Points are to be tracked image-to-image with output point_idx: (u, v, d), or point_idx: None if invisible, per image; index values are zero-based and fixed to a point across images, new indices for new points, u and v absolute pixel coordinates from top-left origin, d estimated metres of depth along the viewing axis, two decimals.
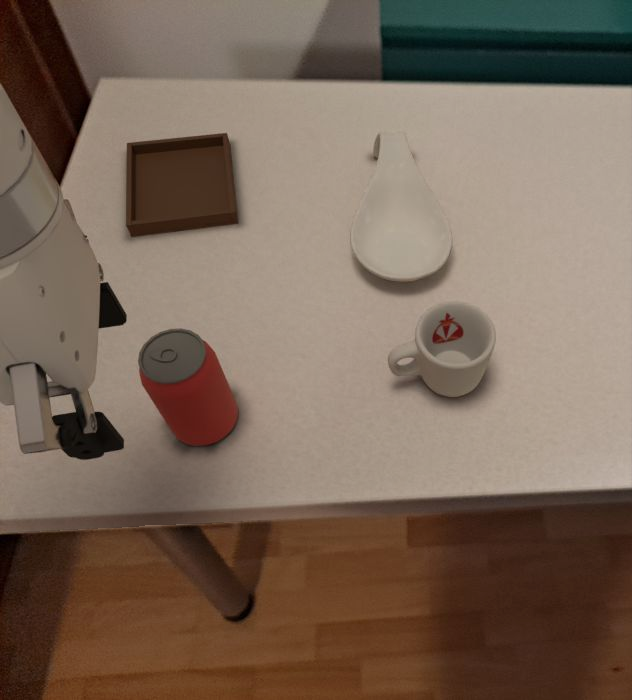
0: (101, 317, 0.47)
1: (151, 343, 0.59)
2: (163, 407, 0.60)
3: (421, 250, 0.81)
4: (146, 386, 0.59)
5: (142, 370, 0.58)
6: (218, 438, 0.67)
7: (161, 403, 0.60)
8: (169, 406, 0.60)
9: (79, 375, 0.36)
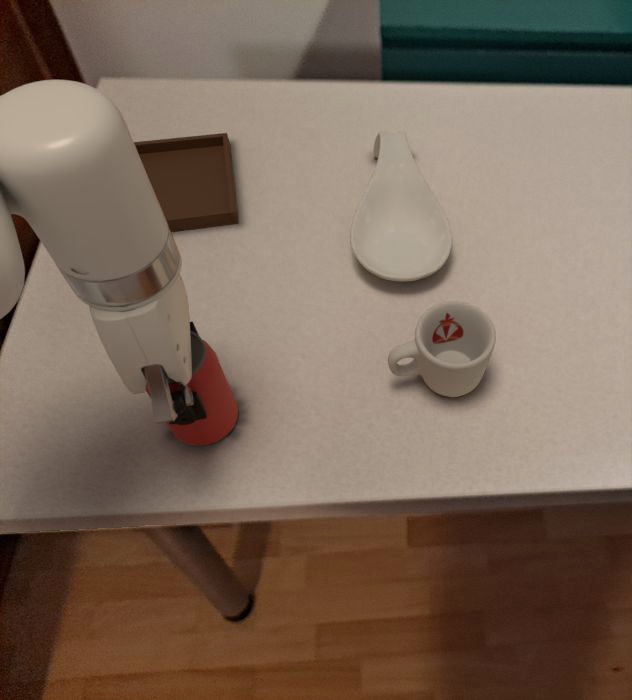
0: None
1: None
2: None
3: (421, 250, 0.81)
4: (146, 386, 0.59)
5: None
6: (218, 438, 0.67)
7: None
8: None
9: (185, 373, 0.53)
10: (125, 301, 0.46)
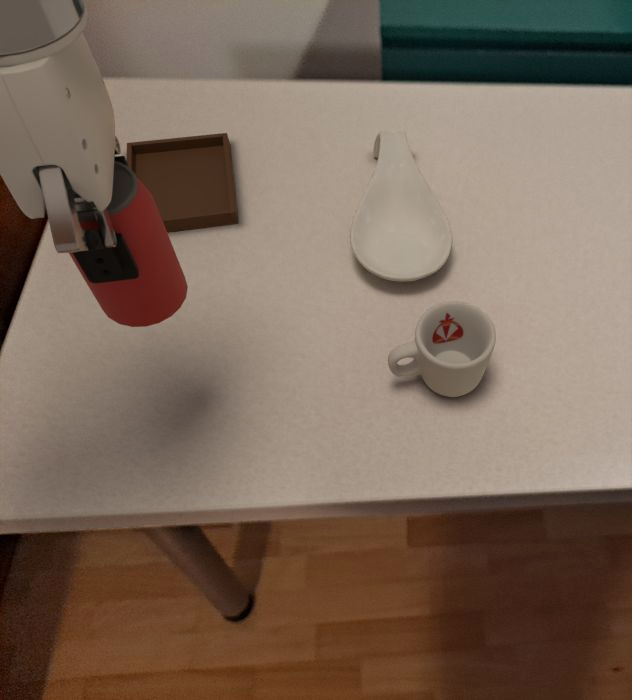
0: None
1: None
2: None
3: (421, 250, 0.81)
4: None
5: None
6: (160, 318, 0.53)
7: None
8: None
9: (98, 189, 0.40)
10: None
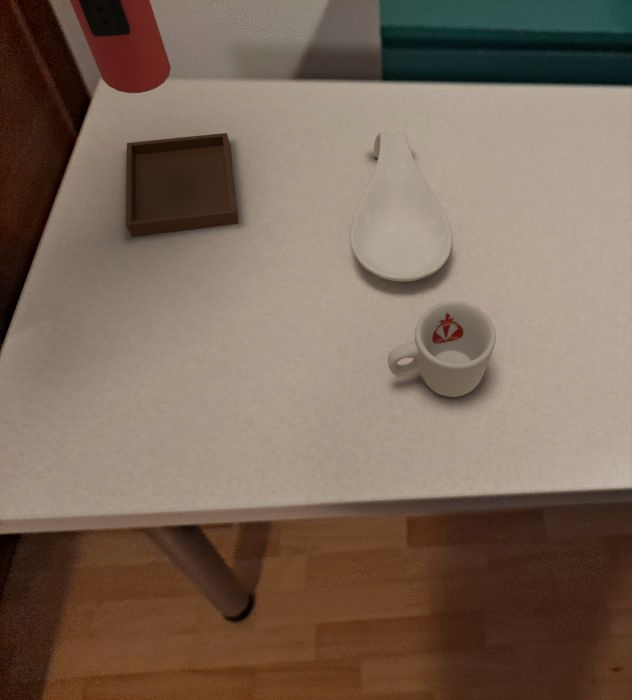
0: None
1: None
2: None
3: (421, 250, 0.81)
4: None
5: None
6: (148, 85, 0.67)
7: None
8: None
9: None
10: None
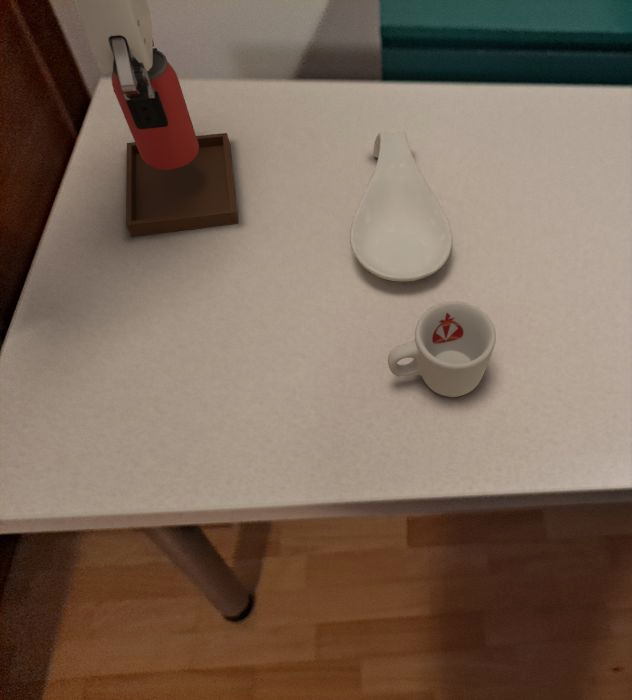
0: None
1: None
2: None
3: (421, 250, 0.81)
4: (117, 89, 0.71)
5: (113, 71, 0.70)
6: (181, 163, 0.79)
7: None
8: None
9: (145, 54, 0.65)
10: None
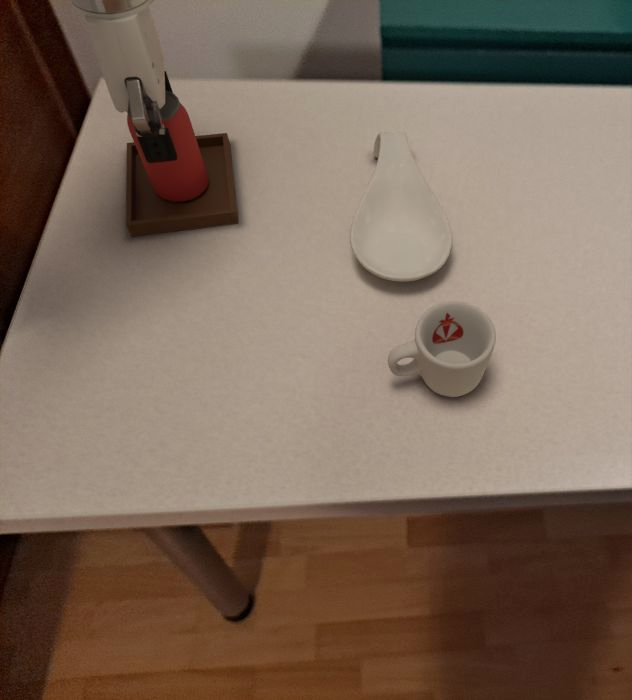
0: None
1: None
2: None
3: (421, 250, 0.81)
4: (132, 129, 0.75)
5: (129, 113, 0.74)
6: (192, 196, 0.83)
7: None
8: None
9: (159, 93, 0.69)
10: (111, 8, 0.62)
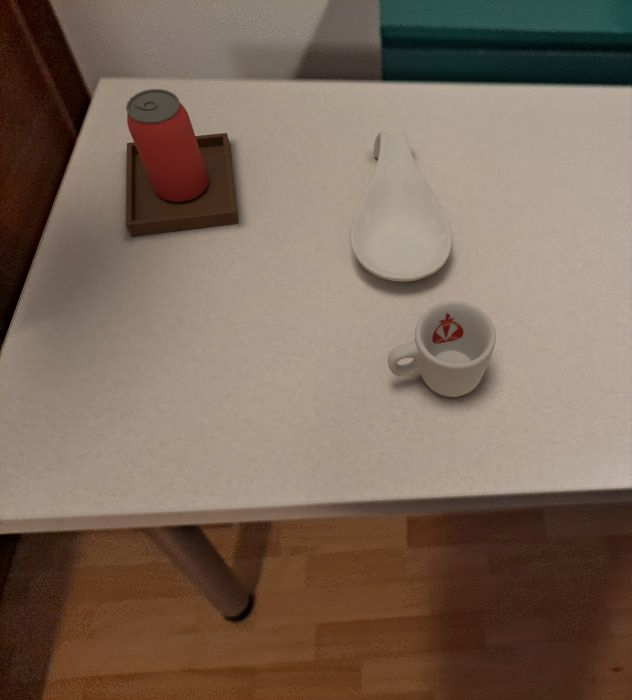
0: None
1: (136, 98, 0.76)
2: (146, 151, 0.76)
3: (421, 250, 0.81)
4: (132, 129, 0.75)
5: (129, 113, 0.74)
6: (192, 196, 0.83)
7: (144, 146, 0.76)
8: (151, 149, 0.76)
9: None
10: None
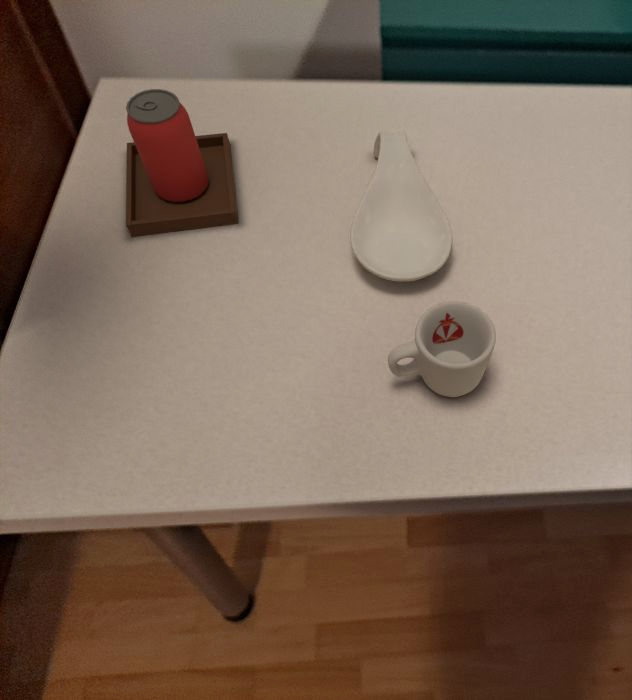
0: None
1: (136, 98, 0.76)
2: (146, 151, 0.76)
3: (421, 250, 0.81)
4: (132, 129, 0.75)
5: (129, 113, 0.74)
6: (192, 196, 0.83)
7: (144, 146, 0.76)
8: (151, 149, 0.76)
9: None
10: None
